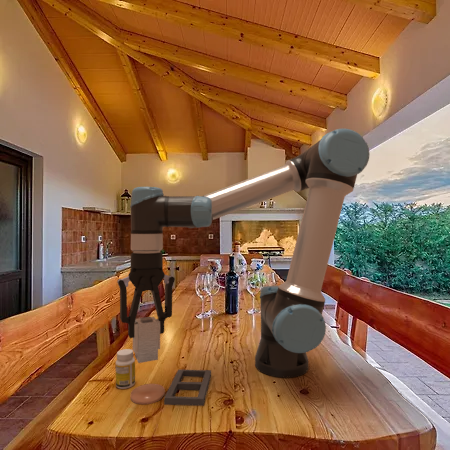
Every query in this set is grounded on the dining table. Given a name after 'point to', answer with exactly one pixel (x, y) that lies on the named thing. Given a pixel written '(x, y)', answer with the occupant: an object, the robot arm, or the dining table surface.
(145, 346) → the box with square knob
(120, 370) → the supplement bottle
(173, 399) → the grey double frame
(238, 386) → the dining table surface
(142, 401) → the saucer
